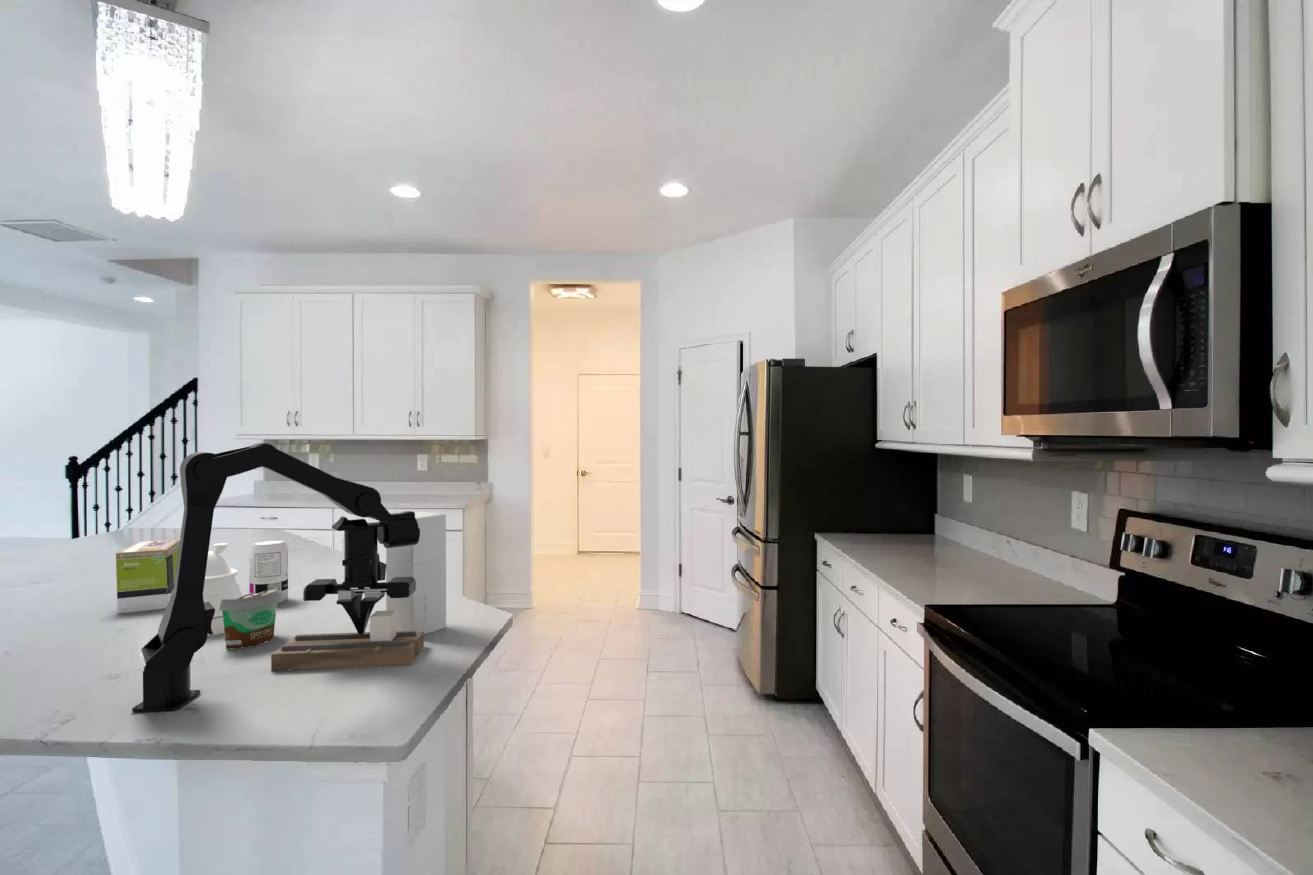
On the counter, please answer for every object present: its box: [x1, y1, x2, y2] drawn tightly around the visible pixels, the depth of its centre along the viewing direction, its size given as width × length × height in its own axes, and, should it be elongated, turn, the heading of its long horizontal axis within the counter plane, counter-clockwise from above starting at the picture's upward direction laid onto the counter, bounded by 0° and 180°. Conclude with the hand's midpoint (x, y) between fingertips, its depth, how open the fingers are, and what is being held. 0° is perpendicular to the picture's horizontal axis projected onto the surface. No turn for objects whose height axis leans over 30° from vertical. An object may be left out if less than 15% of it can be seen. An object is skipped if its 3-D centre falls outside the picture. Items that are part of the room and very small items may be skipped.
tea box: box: [115, 538, 180, 614], centre depth 156 cm, size 15×10×15 cm
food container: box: [219, 586, 281, 649], centre depth 128 cm, size 12×6×10 cm, turn 168°
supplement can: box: [248, 539, 289, 605], centre depth 157 cm, size 8×8×15 cm
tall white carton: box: [385, 511, 447, 636], centre depth 136 cm, size 9×9×25 cm
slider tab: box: [369, 610, 396, 641], centre depth 120 cm, size 4×4×5 cm
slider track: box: [270, 630, 425, 672], centre depth 119 cm, size 10×24×4 cm, turn 97°
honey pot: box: [203, 542, 243, 637], centre depth 137 cm, size 13×13×18 cm
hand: (361, 633), depth 119 cm, fingers closed
